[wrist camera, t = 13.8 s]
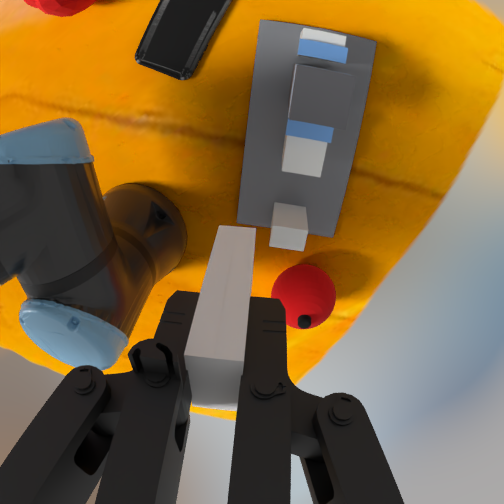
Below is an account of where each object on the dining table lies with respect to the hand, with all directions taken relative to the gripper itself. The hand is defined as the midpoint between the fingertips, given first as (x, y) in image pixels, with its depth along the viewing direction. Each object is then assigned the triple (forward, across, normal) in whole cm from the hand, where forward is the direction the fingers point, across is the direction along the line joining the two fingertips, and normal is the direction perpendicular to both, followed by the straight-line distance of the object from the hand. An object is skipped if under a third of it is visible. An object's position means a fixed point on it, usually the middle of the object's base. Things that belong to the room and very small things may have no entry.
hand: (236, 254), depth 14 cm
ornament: (+27, +8, -22) cm, 36 cm away
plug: (+26, +5, +6) cm, 27 cm away
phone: (+28, -9, +13) cm, 32 cm away
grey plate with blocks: (+27, +5, 0) cm, 27 cm away
